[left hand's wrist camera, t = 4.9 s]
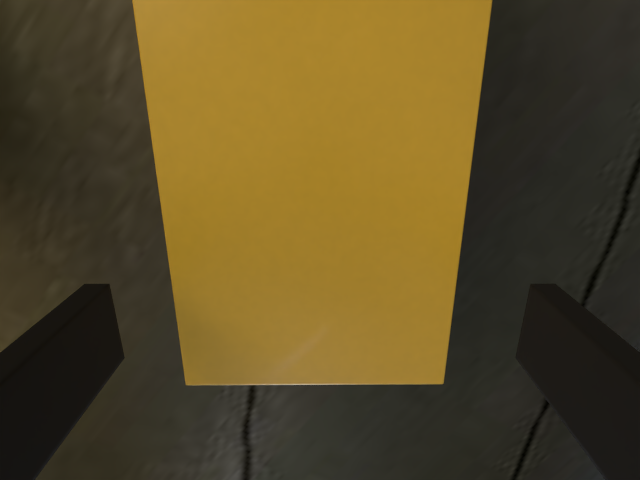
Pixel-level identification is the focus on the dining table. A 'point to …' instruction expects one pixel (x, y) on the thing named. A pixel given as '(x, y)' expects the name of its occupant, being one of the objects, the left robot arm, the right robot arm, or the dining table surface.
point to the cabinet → (313, 181)
